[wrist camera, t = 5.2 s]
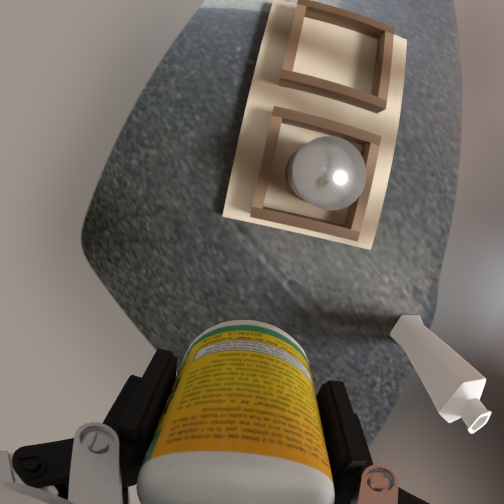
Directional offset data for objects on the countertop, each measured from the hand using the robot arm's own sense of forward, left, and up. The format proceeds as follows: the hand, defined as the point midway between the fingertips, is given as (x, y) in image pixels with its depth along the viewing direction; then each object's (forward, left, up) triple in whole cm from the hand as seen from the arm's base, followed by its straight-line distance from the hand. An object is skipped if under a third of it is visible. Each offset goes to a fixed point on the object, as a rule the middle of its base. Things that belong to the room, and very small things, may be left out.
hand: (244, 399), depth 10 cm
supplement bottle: (0, 0, -2) cm, 2 cm away
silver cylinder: (-9, +3, -15) cm, 18 cm away
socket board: (-15, +3, -16) cm, 22 cm away
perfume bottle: (+3, +17, -17) cm, 24 cm away
